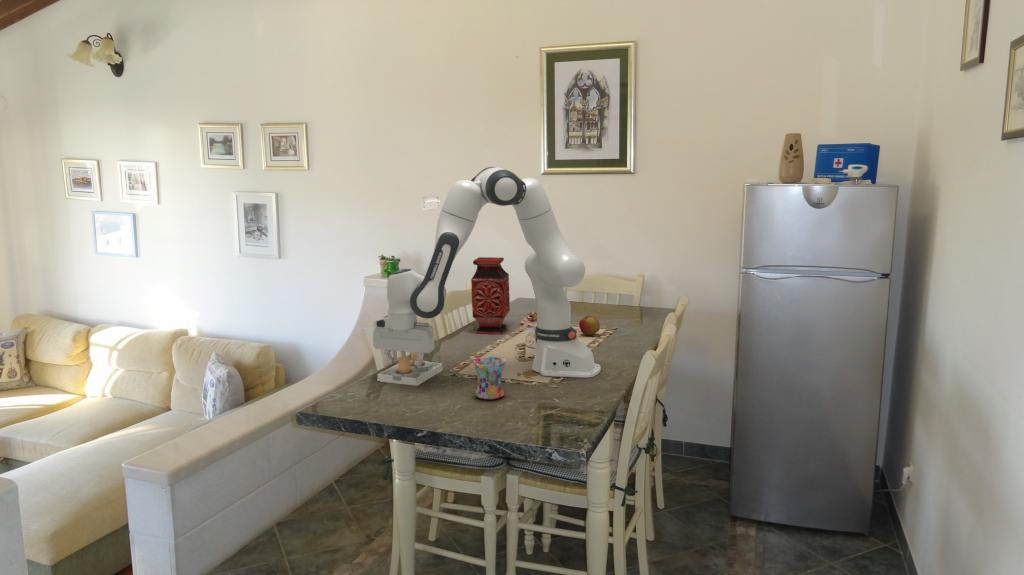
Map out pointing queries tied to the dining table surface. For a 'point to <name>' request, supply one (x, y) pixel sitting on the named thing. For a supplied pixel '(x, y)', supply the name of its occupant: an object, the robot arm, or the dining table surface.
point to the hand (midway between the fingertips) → (404, 364)
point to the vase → (490, 295)
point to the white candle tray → (416, 375)
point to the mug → (489, 377)
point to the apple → (589, 325)
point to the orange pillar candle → (404, 365)
